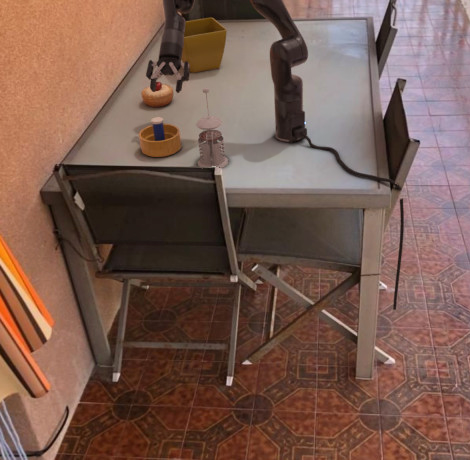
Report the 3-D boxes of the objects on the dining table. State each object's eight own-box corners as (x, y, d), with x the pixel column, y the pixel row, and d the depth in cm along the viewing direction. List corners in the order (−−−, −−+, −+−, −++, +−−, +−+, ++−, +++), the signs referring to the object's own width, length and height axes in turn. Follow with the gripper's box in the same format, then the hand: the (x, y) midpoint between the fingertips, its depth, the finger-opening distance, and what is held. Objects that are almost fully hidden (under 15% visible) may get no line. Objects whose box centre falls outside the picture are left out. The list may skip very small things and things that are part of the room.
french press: (228, 153, 213) (222, 80, 198) (228, 171, 203) (222, 96, 189) (198, 155, 213) (189, 82, 198) (196, 173, 203) (188, 98, 189)
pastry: (179, 96, 253) (176, 74, 248) (167, 109, 244) (164, 87, 239) (150, 95, 256) (147, 73, 251) (138, 107, 247) (134, 85, 242)
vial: (168, 147, 217) (164, 119, 212) (159, 150, 216) (155, 123, 210) (163, 143, 220) (159, 116, 214) (153, 147, 218) (149, 119, 212)
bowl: (189, 149, 217) (187, 132, 213) (154, 162, 210) (151, 145, 207) (168, 136, 225) (166, 120, 222) (134, 148, 219) (131, 132, 216)
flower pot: (230, 69, 274) (227, 29, 265) (186, 77, 269) (182, 37, 259) (215, 55, 289) (212, 17, 279) (174, 63, 284) (169, 24, 274)
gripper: (148, 40, 217) (141, 86, 215) (189, 41, 214) (182, 88, 212) (155, 50, 224) (148, 95, 222) (195, 51, 222) (189, 96, 219)
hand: (165, 91), depth 217 cm, fingers open, 8 cm apart
